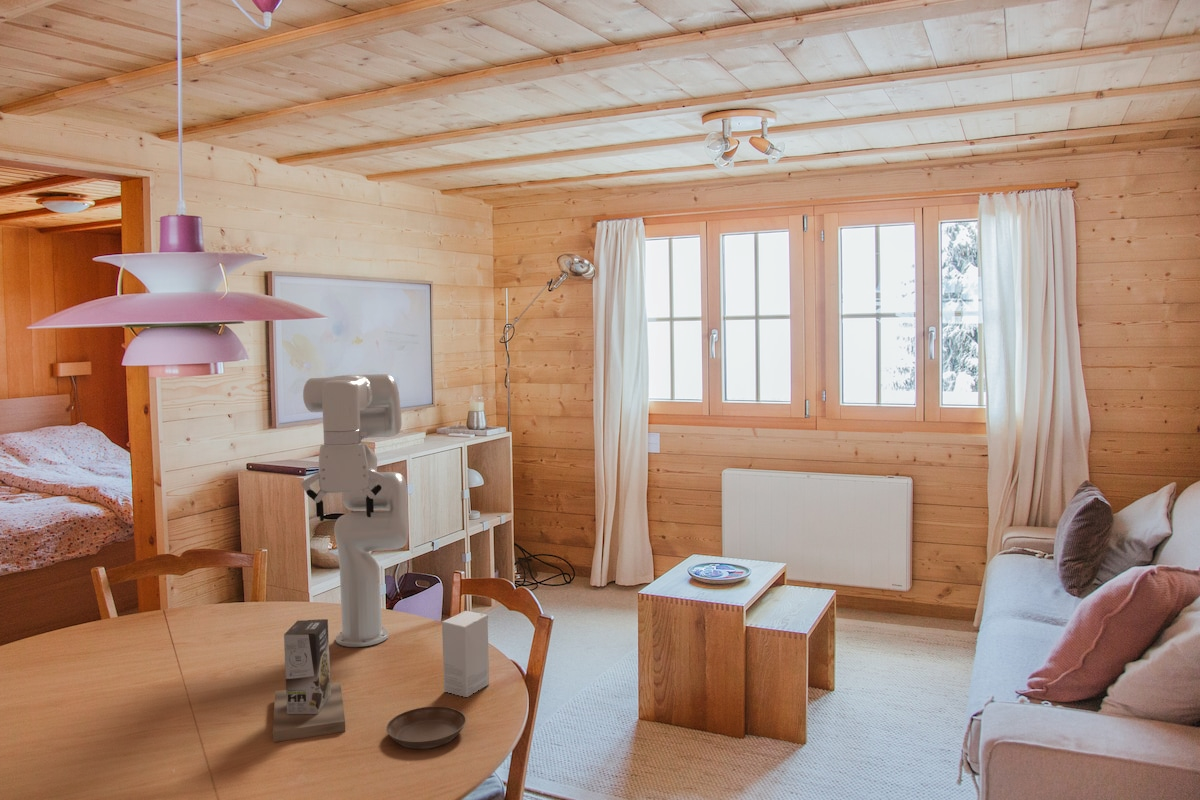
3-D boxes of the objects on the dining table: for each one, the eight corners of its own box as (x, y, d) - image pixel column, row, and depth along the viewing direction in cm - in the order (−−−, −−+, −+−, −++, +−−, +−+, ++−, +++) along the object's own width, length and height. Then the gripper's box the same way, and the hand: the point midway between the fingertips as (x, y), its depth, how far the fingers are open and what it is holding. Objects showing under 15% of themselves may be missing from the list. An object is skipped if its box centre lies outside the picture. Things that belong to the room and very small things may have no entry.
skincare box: (467, 679, 197) (465, 609, 196) (491, 685, 194) (490, 614, 193) (442, 693, 190) (440, 620, 189) (466, 699, 187) (464, 625, 186)
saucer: (389, 760, 162) (388, 745, 161) (384, 725, 176) (383, 712, 176) (472, 747, 166) (471, 733, 166) (460, 715, 180) (460, 701, 180)
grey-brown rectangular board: (275, 700, 188) (275, 691, 188) (340, 691, 192) (340, 682, 192) (273, 742, 169) (272, 731, 169) (345, 731, 173) (345, 721, 173)
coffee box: (319, 714, 176) (315, 633, 174) (286, 715, 176) (282, 634, 174) (332, 695, 185) (329, 618, 184) (300, 696, 185) (297, 618, 183)
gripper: (382, 434, 198) (385, 511, 200) (299, 438, 193) (302, 517, 194) (385, 438, 191) (388, 518, 192) (299, 442, 186) (302, 525, 187)
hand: (345, 518), depth 193 cm, fingers open, 9 cm apart
